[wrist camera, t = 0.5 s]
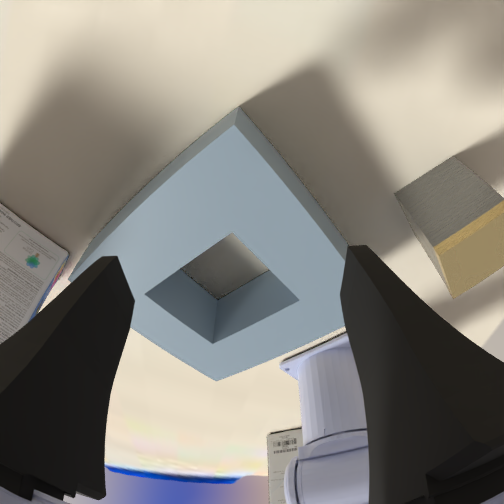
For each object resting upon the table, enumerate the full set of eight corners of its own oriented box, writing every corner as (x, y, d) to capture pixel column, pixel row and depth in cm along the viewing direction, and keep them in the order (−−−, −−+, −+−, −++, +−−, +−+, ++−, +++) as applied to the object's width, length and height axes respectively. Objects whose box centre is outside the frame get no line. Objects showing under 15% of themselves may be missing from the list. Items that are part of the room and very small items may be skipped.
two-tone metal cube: (467, 200, 18) (517, 255, 13) (414, 234, 20) (453, 299, 15) (453, 155, 17) (512, 206, 11) (394, 193, 19) (438, 255, 13)
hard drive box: (282, 445, 47) (285, 549, 31) (265, 433, 42) (266, 552, 27) (372, 425, 43) (387, 534, 27) (366, 411, 38) (384, 538, 23)
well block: (362, 265, 22) (378, 308, 19) (219, 341, 27) (216, 381, 24) (238, 106, 15) (234, 124, 12) (91, 240, 21) (67, 279, 18)
